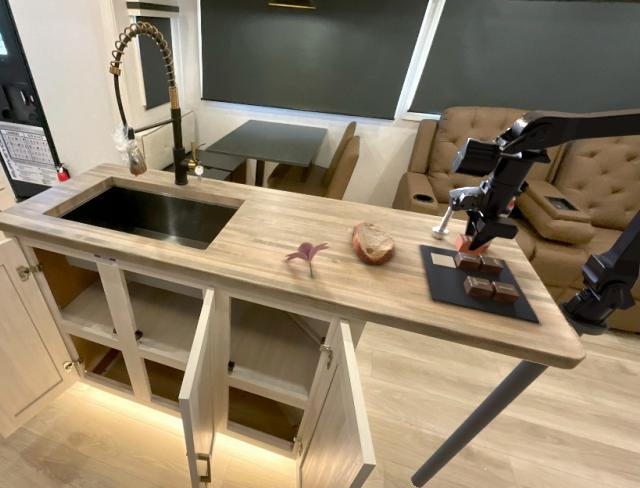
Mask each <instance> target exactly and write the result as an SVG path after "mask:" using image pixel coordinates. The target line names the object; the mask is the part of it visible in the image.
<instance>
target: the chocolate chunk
mask: <svg viewBox="0 0 640 488" xmlns="http://www.w3.org/2000/svg"><path fill="white" fill-rule="evenodd" d="M499 259H500V258H498V257H497V258H496V257H492V256H485V255H480V257H479V261H480V265H479V266H478V268H479V270H480V272H484V273H489V274H494V275H499V274H500V273H501V272H502V270H503V269H504V267H503V265H502V263H501V262H500V260H499Z"/></svg>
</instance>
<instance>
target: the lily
mask: <svg viewBox="0 0 640 488" xmlns="http://www.w3.org/2000/svg"><path fill="white" fill-rule="evenodd" d="M327 244H328V242H324V243H321V244H317V245H315V246H314V244H313V243H311V242H307V241H306V242H302V243H301V244H300V245H299V246H298V248H297V251H295V252H292V253H289V254H287V255H285V256H284V257H285V258H286V259H285V262H289V261H292V260H294V259H300V260H303V261H305V262H308V264H309V270H310V276H311V278H313V277H314V275H313V268H312V263H311V262H312V260H313V258H314V257H315V256H316V254H317V253H318V252H319V251H323V250H328V249H330V248H331V246H328V245H327Z"/></svg>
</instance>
